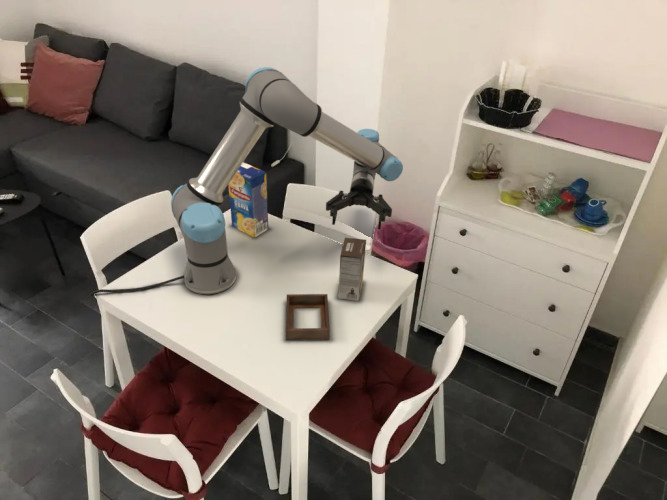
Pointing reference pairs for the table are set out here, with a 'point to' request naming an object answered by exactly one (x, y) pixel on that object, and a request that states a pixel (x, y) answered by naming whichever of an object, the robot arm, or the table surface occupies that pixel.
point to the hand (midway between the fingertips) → (356, 223)
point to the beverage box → (249, 200)
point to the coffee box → (351, 268)
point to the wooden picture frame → (307, 302)
